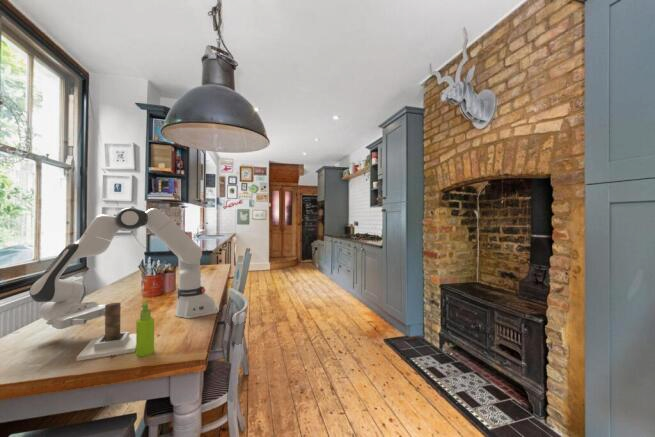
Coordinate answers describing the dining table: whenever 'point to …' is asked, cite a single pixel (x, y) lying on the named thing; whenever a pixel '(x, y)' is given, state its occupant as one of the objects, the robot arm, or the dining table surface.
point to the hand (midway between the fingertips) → (97, 317)
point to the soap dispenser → (145, 332)
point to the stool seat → (109, 347)
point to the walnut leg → (112, 321)
